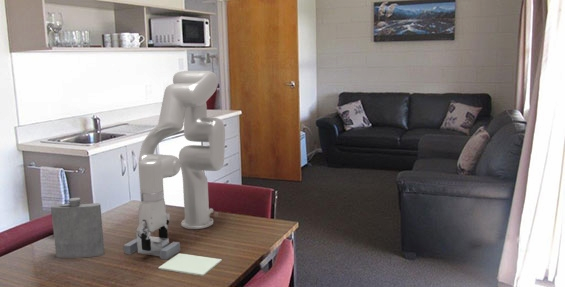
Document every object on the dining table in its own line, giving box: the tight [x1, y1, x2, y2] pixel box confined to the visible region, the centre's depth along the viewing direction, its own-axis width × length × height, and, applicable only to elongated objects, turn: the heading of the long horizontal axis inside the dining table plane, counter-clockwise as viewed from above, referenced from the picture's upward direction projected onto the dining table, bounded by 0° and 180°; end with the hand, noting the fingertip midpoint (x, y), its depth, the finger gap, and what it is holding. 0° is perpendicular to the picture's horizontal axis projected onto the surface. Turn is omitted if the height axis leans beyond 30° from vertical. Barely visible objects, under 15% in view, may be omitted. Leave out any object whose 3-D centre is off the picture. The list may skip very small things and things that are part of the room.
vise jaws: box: [123, 237, 181, 261], centre depth 171 cm, size 8×17×3 cm, turn 69°
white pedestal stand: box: [135, 229, 170, 257], centre depth 171 cm, size 4×10×8 cm, turn 69°
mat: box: [158, 252, 223, 277], centre depth 161 cm, size 12×16×1 cm
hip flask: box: [50, 197, 106, 259], centre depth 169 cm, size 16×4×20 cm, turn 93°
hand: (155, 245), depth 170 cm, fingers open, 9 cm apart
